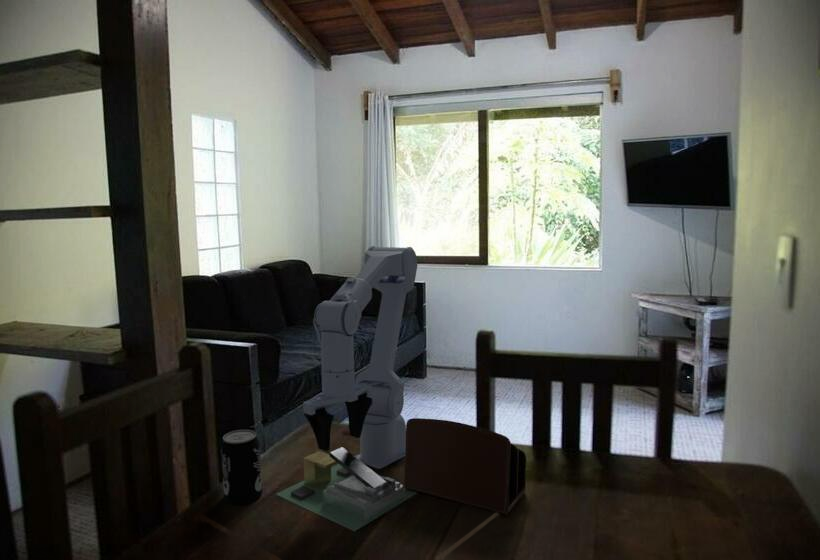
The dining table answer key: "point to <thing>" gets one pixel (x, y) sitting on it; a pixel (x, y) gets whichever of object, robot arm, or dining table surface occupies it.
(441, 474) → the letter holder
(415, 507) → the dining table surface
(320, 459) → the keeper
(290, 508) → the dining table surface
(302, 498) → the board
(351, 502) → the block
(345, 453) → the strap
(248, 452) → the beverage can
